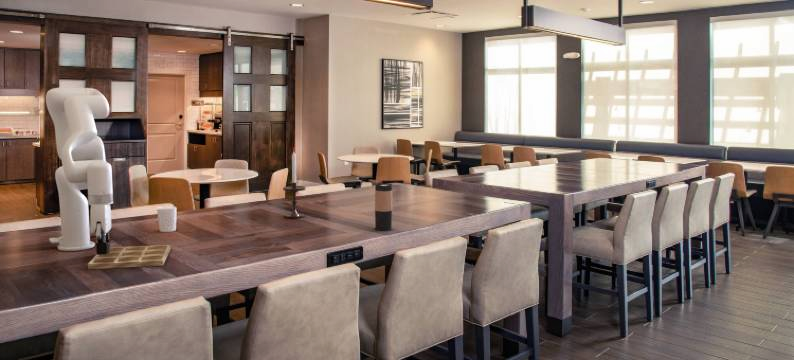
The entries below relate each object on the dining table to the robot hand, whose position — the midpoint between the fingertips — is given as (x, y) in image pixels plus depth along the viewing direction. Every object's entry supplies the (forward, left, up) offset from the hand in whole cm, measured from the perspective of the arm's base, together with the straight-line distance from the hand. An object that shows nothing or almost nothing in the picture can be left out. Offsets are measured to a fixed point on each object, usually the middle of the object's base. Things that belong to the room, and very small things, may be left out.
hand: (103, 252), depth 212 cm
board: (+8, +8, -5) cm, 12 cm away
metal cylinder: (0, 0, 0) cm, 0 cm away
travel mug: (+107, +41, -5) cm, 114 cm away
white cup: (+15, +56, -5) cm, 58 cm away
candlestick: (+71, +78, -5) cm, 105 cm away
